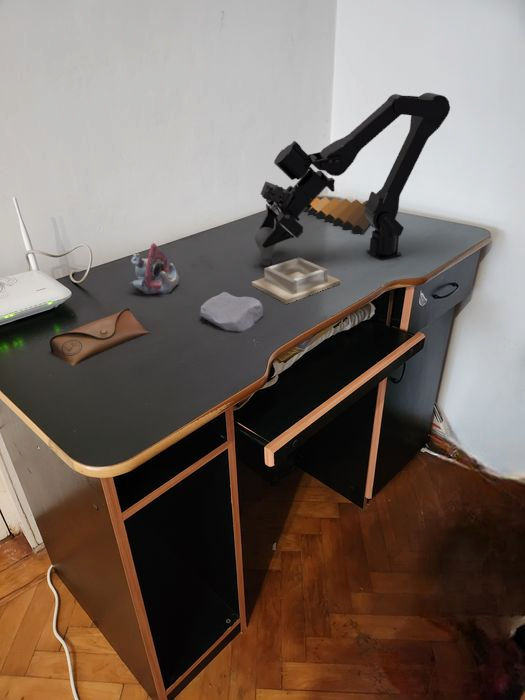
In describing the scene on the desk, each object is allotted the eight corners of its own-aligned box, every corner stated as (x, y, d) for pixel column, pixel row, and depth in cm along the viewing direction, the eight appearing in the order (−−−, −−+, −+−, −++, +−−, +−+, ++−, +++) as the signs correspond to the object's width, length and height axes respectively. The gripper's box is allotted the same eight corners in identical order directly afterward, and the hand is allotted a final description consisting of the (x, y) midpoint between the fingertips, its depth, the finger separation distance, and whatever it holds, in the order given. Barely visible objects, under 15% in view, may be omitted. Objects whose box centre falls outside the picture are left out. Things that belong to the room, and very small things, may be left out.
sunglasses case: (71, 367, 97) (55, 334, 97) (60, 371, 103) (45, 340, 102) (153, 331, 108) (139, 301, 107) (139, 337, 114) (126, 308, 113)
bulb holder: (304, 268, 133) (304, 252, 131) (340, 284, 124) (340, 268, 122) (252, 285, 125) (251, 269, 123) (286, 304, 116) (286, 287, 114)
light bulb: (279, 262, 137) (278, 224, 132) (276, 270, 133) (275, 231, 128) (258, 261, 138) (256, 223, 133) (254, 269, 134) (252, 231, 128)
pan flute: (362, 236, 153) (382, 211, 172) (363, 225, 151) (383, 201, 170) (282, 228, 162) (310, 205, 181) (282, 217, 160) (310, 195, 179)
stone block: (242, 342, 107) (267, 313, 113) (237, 324, 104) (263, 295, 110) (196, 330, 113) (222, 304, 119) (190, 312, 110) (217, 286, 116)
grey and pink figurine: (175, 290, 119) (139, 248, 116) (144, 313, 124) (108, 274, 121) (193, 270, 128) (160, 231, 125) (163, 293, 134) (131, 256, 131)
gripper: (273, 161, 132) (232, 209, 136) (288, 179, 116) (241, 232, 120) (304, 191, 137) (263, 236, 141) (323, 212, 121) (276, 262, 125)
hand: (260, 240), depth 132 cm, fingers open, 8 cm apart
